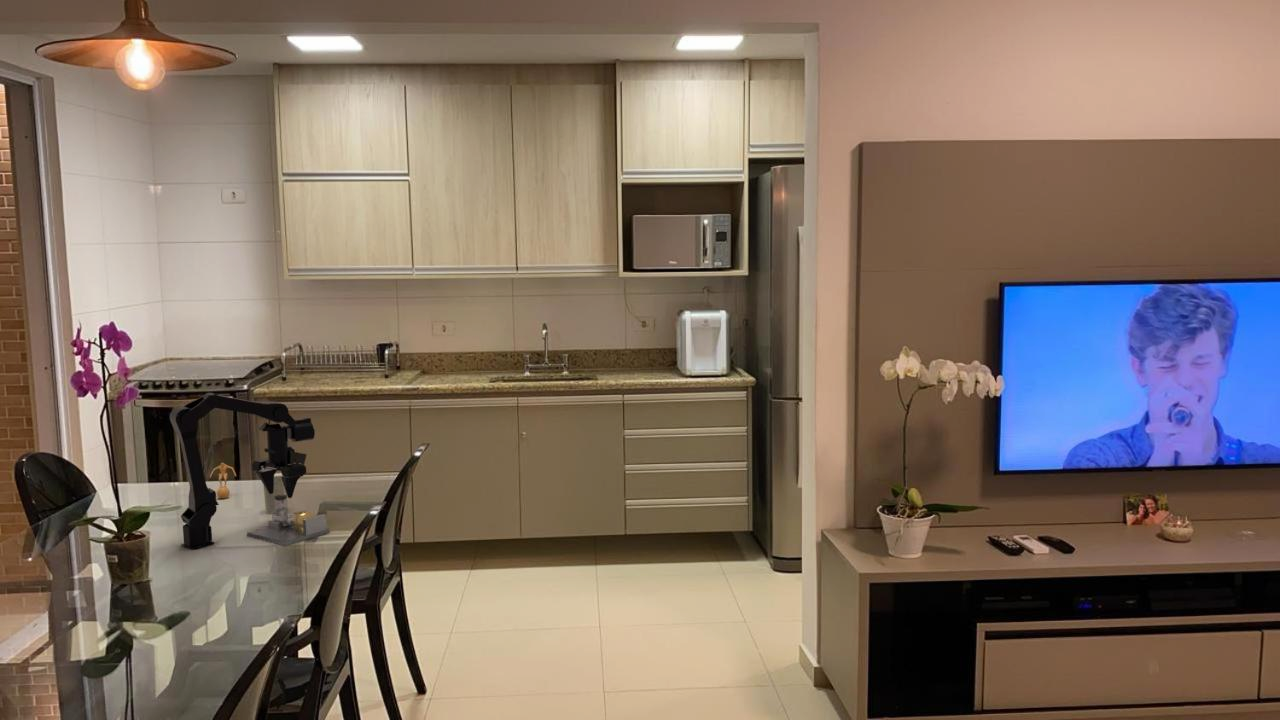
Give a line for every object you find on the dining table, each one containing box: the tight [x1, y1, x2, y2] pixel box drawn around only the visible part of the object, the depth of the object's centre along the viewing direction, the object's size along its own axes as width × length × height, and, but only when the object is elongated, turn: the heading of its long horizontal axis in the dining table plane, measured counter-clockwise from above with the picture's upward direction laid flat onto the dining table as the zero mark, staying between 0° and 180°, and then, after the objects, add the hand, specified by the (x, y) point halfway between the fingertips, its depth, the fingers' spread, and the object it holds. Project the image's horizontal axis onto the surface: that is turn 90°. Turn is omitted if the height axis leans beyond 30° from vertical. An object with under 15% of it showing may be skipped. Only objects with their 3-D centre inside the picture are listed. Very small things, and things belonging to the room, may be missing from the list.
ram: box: [271, 495, 294, 527], centre depth 278 cm, size 4×7×8 cm, turn 56°
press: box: [246, 513, 331, 546], centre depth 273 cm, size 15×18×6 cm
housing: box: [293, 510, 313, 532], centre depth 274 cm, size 5×5×5 cm
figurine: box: [209, 462, 237, 500], centre depth 318 cm, size 8×6×12 cm
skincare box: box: [263, 472, 289, 515], centre depth 299 cm, size 6×4×12 cm
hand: (280, 495), depth 279 cm, fingers open, 9 cm apart
